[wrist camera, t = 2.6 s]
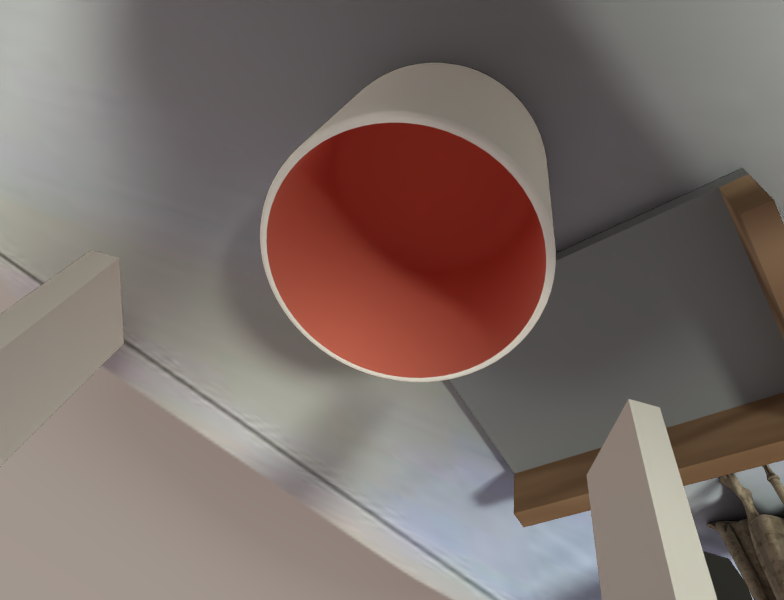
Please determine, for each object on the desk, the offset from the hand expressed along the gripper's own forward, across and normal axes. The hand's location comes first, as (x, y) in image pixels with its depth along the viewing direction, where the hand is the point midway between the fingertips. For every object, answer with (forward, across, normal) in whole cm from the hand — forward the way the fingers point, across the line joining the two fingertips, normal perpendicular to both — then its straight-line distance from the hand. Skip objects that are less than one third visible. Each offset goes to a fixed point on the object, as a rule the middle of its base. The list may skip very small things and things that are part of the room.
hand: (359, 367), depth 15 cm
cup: (+16, 0, 0) cm, 16 cm away
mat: (+16, +11, -7) cm, 20 cm away
